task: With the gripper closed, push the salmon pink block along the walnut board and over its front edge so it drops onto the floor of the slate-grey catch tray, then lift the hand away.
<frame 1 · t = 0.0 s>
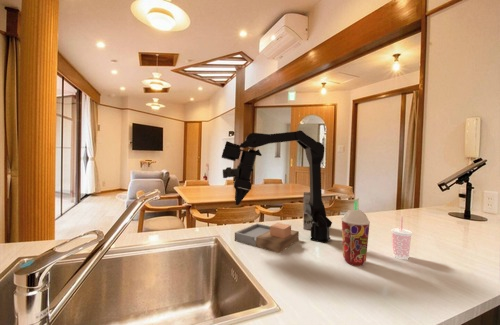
hand: (236, 202, 96), 15 cm above the worktop, tool pointing down, fingers open, 9 cm apart
board: (278, 243, 95), on the worktop
coffee box: (309, 227, 117), on the worktop
salmon pink block: (280, 234, 94), point 3 cm above the worktop, touching board
beverage cup: (400, 257, 83), on the worktop
smoothie: (354, 262, 79), on the worktop
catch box: (256, 237, 101), on the worktop
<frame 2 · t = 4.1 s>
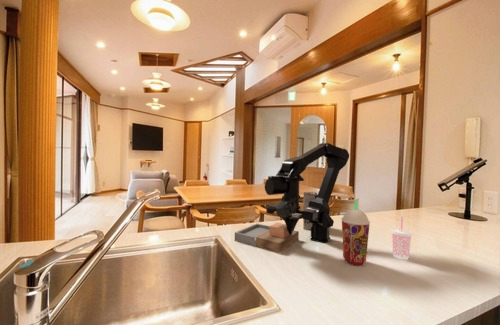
hand: (290, 234, 92), 5 cm above the worktop, tool pointing down, fingers closed
salmon pink block: (280, 234, 94), point 4 cm above the worktop, touching gripper
everything else where it was.
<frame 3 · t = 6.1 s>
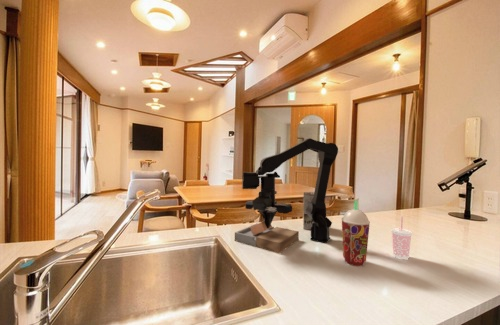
hand: (268, 228, 97), 5 cm above the worktop, tool pointing down, fingers closed, pressing on salmon pink block
salmon pink block: (262, 231, 98), point 3 cm above the worktop, tilted 29°, touching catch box, gripper
everything else where it was.
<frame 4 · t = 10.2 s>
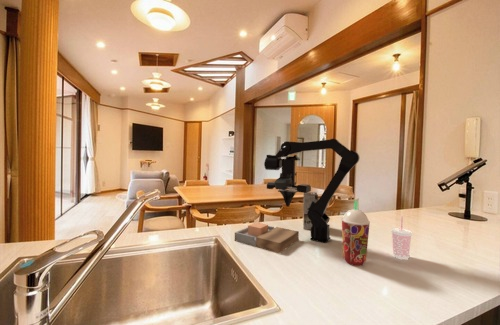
hand: (287, 206, 105), 12 cm above the worktop, tool pointing down, fingers closed
salmon pink block: (258, 233, 100), point 2 cm above the worktop, touching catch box
everything else where it was.
at the end: salmon pink block inside the target area on the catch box (1.4 cm from its centre), point 2.0 cm above the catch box's base; salmon pink block point 2.0 cm above the worktop; salmon pink block moved 10.3 cm from its start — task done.
